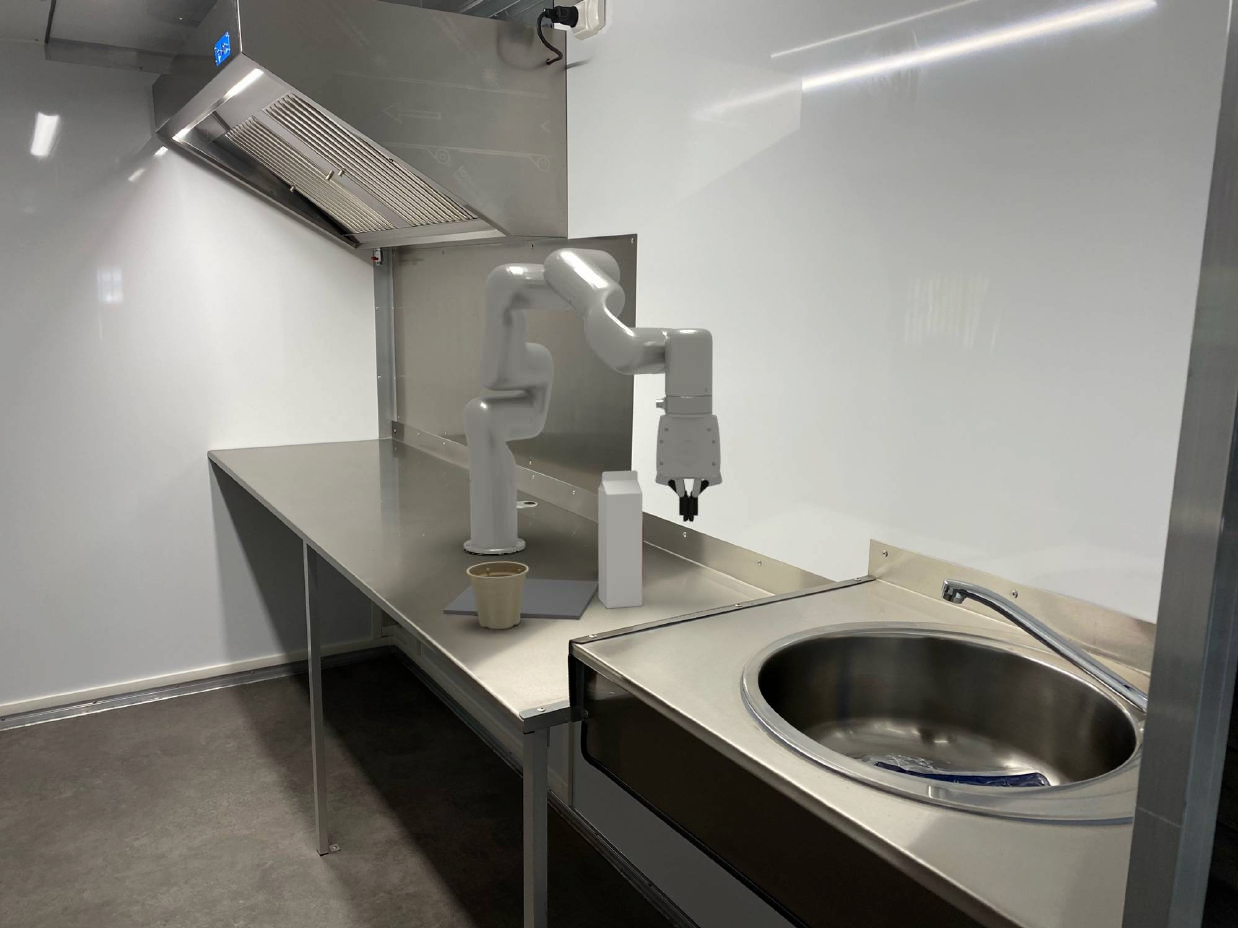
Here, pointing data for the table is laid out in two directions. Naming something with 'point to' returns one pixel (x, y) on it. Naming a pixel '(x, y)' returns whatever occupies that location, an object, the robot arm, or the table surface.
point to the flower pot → (498, 592)
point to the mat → (539, 599)
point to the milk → (620, 539)
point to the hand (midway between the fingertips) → (688, 519)
